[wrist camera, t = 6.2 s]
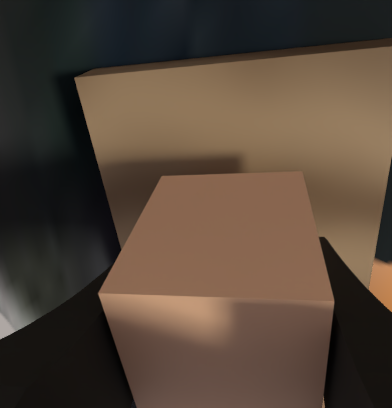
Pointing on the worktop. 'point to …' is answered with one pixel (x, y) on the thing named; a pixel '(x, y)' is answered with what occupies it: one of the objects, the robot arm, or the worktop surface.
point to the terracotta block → (223, 295)
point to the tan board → (253, 131)
